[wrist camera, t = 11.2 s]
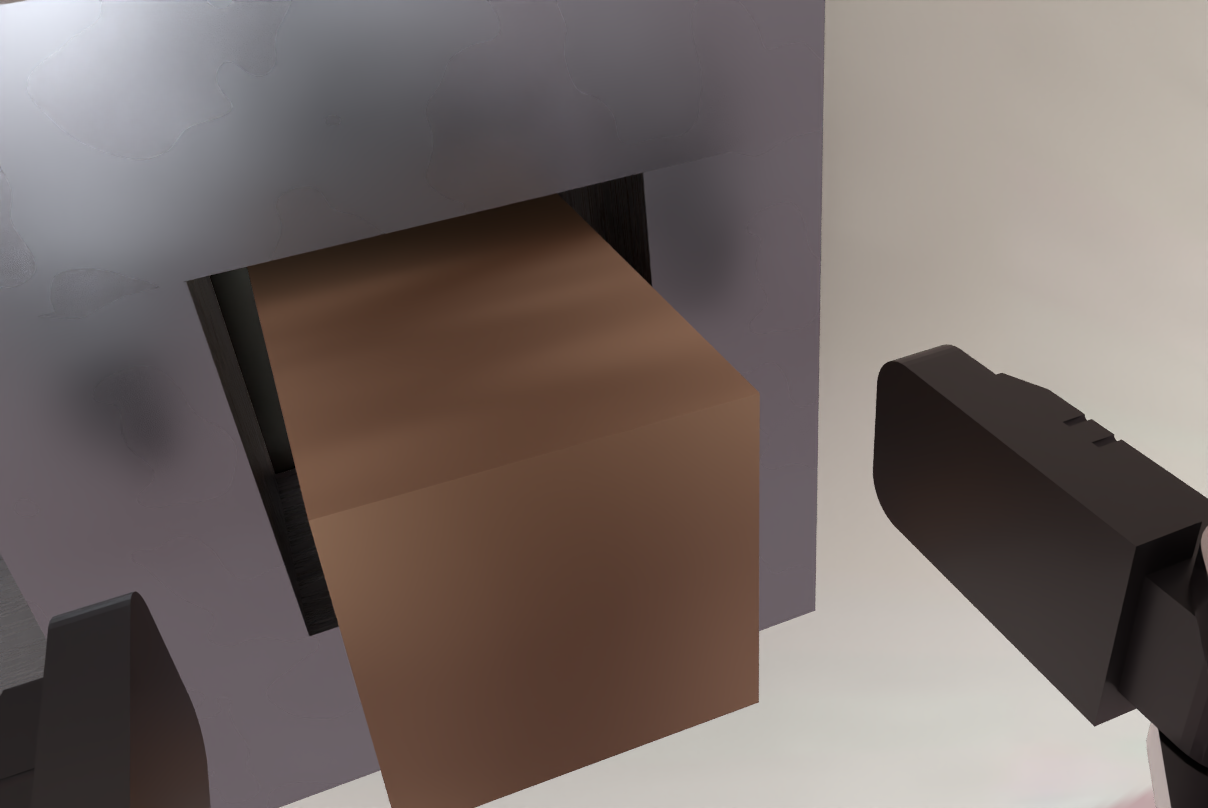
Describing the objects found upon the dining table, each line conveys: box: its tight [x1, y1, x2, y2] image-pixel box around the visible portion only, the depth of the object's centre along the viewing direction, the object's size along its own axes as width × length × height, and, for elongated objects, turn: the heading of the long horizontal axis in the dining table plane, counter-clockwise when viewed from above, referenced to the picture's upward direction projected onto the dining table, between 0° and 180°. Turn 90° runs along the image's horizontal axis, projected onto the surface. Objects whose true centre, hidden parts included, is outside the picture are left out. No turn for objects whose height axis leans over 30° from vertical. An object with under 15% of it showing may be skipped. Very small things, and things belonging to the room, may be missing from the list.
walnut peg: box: [247, 193, 760, 808], centre depth 13 cm, size 4×4×8 cm
